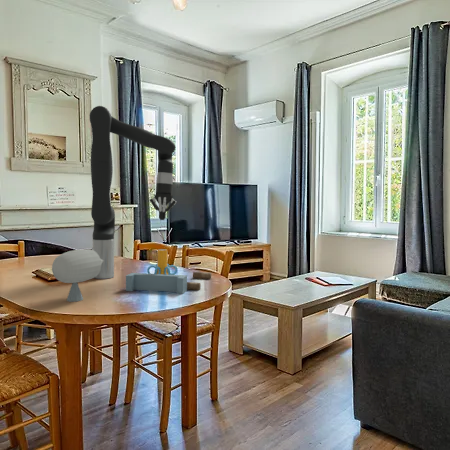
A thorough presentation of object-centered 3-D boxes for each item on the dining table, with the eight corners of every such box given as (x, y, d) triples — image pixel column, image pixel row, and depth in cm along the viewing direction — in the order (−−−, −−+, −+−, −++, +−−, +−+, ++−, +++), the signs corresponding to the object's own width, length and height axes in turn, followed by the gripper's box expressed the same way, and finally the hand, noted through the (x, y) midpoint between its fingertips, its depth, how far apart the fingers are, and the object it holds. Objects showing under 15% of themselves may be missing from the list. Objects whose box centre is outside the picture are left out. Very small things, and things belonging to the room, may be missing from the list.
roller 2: (193, 279, 184) (192, 275, 182) (194, 274, 186) (193, 270, 184) (210, 280, 183) (209, 276, 181) (211, 275, 185) (210, 271, 183)
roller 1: (179, 290, 160) (179, 282, 160) (181, 288, 163) (181, 281, 163) (198, 291, 159) (199, 283, 159) (200, 289, 162) (200, 282, 162)
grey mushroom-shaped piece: (115, 299, 143) (115, 250, 142) (55, 306, 132) (55, 253, 131) (103, 291, 156) (102, 246, 155) (47, 297, 145) (46, 248, 144)
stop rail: (125, 290, 157) (125, 275, 156) (131, 287, 163) (131, 272, 162) (182, 294, 153) (183, 278, 153) (186, 290, 159) (187, 275, 159)
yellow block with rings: (166, 290, 159) (166, 252, 158) (143, 287, 162) (143, 250, 161) (180, 284, 170) (180, 248, 169) (158, 282, 174) (158, 247, 173)
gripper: (148, 181, 186) (145, 219, 187) (176, 183, 184) (173, 221, 185) (153, 182, 193) (151, 218, 194) (180, 184, 192) (177, 220, 192)
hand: (162, 219), depth 190 cm, fingers closed
